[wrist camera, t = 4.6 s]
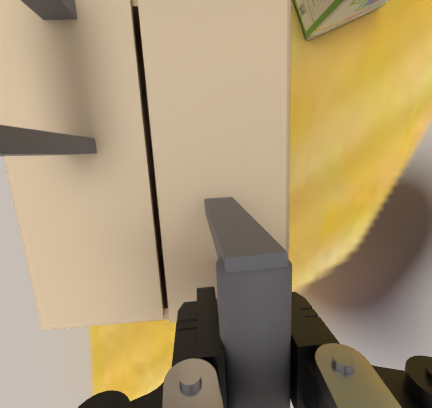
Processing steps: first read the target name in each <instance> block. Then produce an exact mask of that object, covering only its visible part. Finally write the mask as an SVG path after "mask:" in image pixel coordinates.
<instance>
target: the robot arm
mask: <svg viewBox="0 0 432 408" xmlns="http://www.w3.org/2000/svg"><path fill="white" fill-rule="evenodd" d="M290 399H291V402H292V404H293V406H294V408H432V357H427V356H413V357H411V358H409V359H408V360H407V361H406V366H405V371H402V370H395V369H389V368H382V367H377V366H373V365H371V364H370V363H369V361H368V360H367V359H366V358H365V357H364V356H363V355H362V354H361V353H359V352H358V351H356V350H354V349H353V348H351V347H348V346H346V345H342V344H340V343H339V342H338V340H337V339H336V338H335V337H334V335H333V334H332V333H331V331H330V330H329V329H328V327H327V326H326V325H325V323H324V322H323V321H322V319H321V318H320V317H318V314H317V313H316V312H315V310H314V309H312V306H311V305H310V304H309V303H308V301H307V300H306V299H305V298H304V297H302V296H301V295H299V294H298V293H296V292H292V301H291V375H290ZM78 408H227V398H226V378H225V358H224V349H223V343H222V341H221V338H220V333H219V315H218V309H217V302H216V295H215V288H214V286H213V287H202V288H197V301H191V302H184V303H183V304H182V306H181V307H180V308H179V310H178V314H177V323H176V332H175V342H174V351H173V361H172V368H171V369H170V370H169V372H168V373H167V375H166V377H165V379H164V382H163V383H162V384H161V385H160V386H159V387H158V388H157V389H155V390H154V391H152V392H151V393H149V394H147V395H144V396H142V397H140V398H137V399H135V400H133V401H130V400H129V399H128V397H127V396H126V395H125V394H124V393H122V392H119V391H105V392H101V393H98V394H96V395H94V396H92V397H91V398H89V399H87V400H86V401H85V402H84V403H82V404H81V405H80V406H79V407H78Z"/></svg>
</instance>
